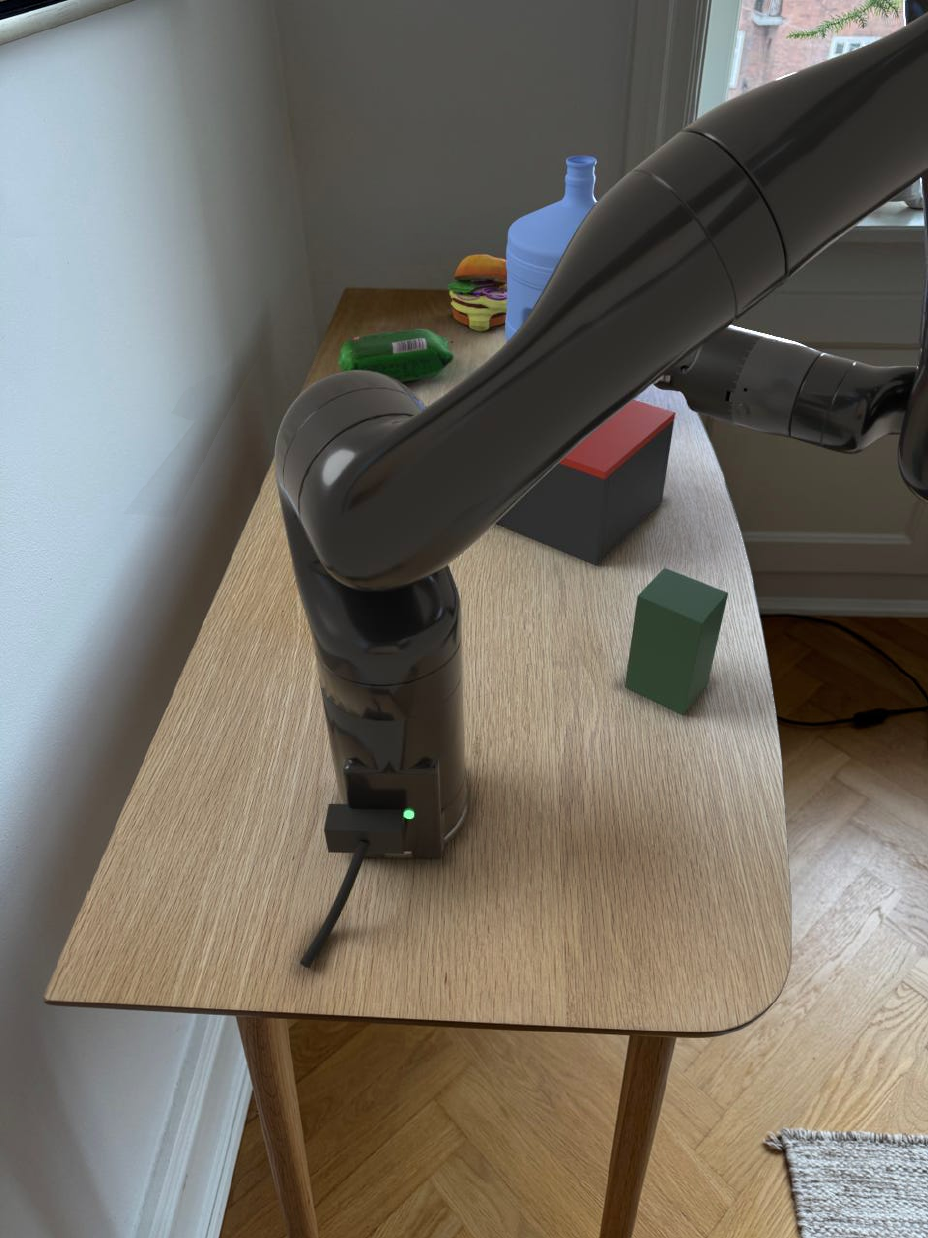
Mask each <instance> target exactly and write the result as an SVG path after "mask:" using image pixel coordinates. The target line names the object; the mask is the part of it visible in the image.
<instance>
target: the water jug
mask: <svg viewBox="0 0 928 1238" xmlns="http://www.w3.org/2000/svg"><path fill="white" fill-rule="evenodd" d="M565 164H566V166H567V167H566V169H567V170H566V174H565V178H564V183H565V191H564V192H565V193H564V196H563V198H562V199H561V200H559V201H556V202H554V203H552V204H549V205H547V206H544V207H542V208H540V209H537V210H535V211H533V212H530V213H528V214H525V215H523V216H521V217H520V218H518V219H516V220H515V221H514V222H513V223H512V224H511V225H510V227H509V228H508V232H507V243H506V250H505V256H506V258H505V260H506V268H507V314H506V320H505V323H504V324H505V325H504V334H505V335H504V336H505V342H506V343H507V342H508V340H509V339H510V338H511V337H512V336H513V335H514V334H515V333H516V332H517V330H518V329H519V328H520V327H521V325H522V324H523V323H524V321H525V320H526V318H527V317H528V315H529V314H530V312H531V310H532V309H533V307H534V305H535V304H536V302H537V300H538V299H539V297H540V295H541V294H542V292H543V290H544V288H545V286H546V284H547V283H548V281H549V279H550V277H551V275H552V273H553V271H554V269H555V267H556V265H557V263H558V261H559V260H560V258H561V256H562V254H563V252H564V250H565V249H566V247H567V245H568V243H569V242H570V240H571V238H572V237H573V235H574V233H575V232H576V230H577V228H578V227H579V225H580V224H581V222H582V221H583V219H584V218H585V217H586V215H587V214H588V212H589V211H590V210H591V208H592V207H593V206H594V205H595V204H596V202H597V201H598V200H596V198H595V195H594V189H595V183H596V174H595V166H596V164H597V159H596V157H594V156H590V155H574V156H569V157H567V158H566V160H565Z"/></svg>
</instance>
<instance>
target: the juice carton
mask: <svg viewBox="0 0 928 1238" xmlns="http://www.w3.org/2000/svg"><path fill="white" fill-rule="evenodd" d="M728 597H729V592H727V591H726V590H723V589H720V588H718V587H715V586H713V585H711V584H708V583H705V582H703V581H700V580H697V579H695V578H693V577H691V576H688V575H685V574H683V573H680V572H677V571H675V570H672V569H670V568H667V567H663V569H661V571H659V572H658V573H657V575H656V576H655V577H654V578H653V579H651V581H650V583H648V584H647V585H646V587H644V589H642V590H641V592H639V594H638V595H637V597H636V602H635V610H634V612H635V613H634V619H633V625H632V633H631V639H630V647H629V652H628V653H629V654H628V660H627V669H626V676H625V683H624V687H625V688H626V689H627V690H629V691H632V692H634V693H636V694H638V695H640V696H642V697H645V698H647V699H648V700H651V701H652V702H655V703H657V704H659V705H661V706H663V707H666V708H667V709H670V710H672V711H674V712H675V713H677V714H680V715H682V716H684V715H686V713H687V712H688V710H689V709H690V708H691V707H692V706H693V704H694V703H695V702H696V700H697V699H698V698H699V696H700V695H701V694H702V692H703V691H704V690H705V689H706V687H707V686H708V685H709V681H710V678H711V677H710V676H711V672H712V669H713V664H714V659H715V654H716V651H717V646H718V641H719V637H720V632H721V628H722V625H723V624H722V622H723V619H724V614H725V610H726V605H727V601H728Z"/></svg>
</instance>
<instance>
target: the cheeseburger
mask: <svg viewBox="0 0 928 1238" xmlns="http://www.w3.org/2000/svg"><path fill="white" fill-rule="evenodd" d="M453 278H454V280H455V281H453V282H452V283H448V284H447V287H446V289H448V291H449V292H448V293H449V296H450V299H451V300H452V301H451V302H450V305H451V306H452V308H451V309H452V310H451V311H452V315H453V318H454V320H456V321H457V322H459V323H461V324H462V325H465V326H468V328H470V329H471V330H473V331H476V332H486V331H487V330H489V329H490V328H493V327H496V326H501V325H503V324H505V320H506V314H507V268H506V258H500V257H495V256H492V255H489V254H471V255H467V256H466V257H465V258H464V259H462V260H461V261H460V263H459V265H458V266H457V268H456V270H455V273H454V276H453Z"/></svg>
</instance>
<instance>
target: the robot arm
mask: <svg viewBox="0 0 928 1238" xmlns="http://www.w3.org/2000/svg"><path fill="white" fill-rule="evenodd" d="M903 19H904V26H902V27H900V28H899V29H897V30H895V31H893V32H890V33H889V34H887V35H885V36H883V37H881V38H879V39H877V40H874V41H872V42H870V43H867V44H865V45H863V46H859V47H858V48H854V49H852V50H850V51H847V52H844V53H843V54H839V55H837V56H834V57H831V58H829V59H827V60H823V61H821V62H819V63H816V64H813V65H810V66H808V67H806V68H803V69H800V70H798V71H795V72H792V73H790V74H786V75H784V76H782V77H779V78H776V79H774V80H772V81H769V82H766V83H764V84H762V85H759V86H757V87H755V88H754V87H753V88H752V89H750V90H747V91H746V92H743V93H741V94H739V95H736V96H734V97H733V98H731V99H728V100H726V101H724V102H723V103H721V104H719V105H717V106H715V107H714V108H712V109H711V110H709V111H707V112H706V113H704V114H703V115H701V116H700V117H698V118H697V119H695V120H694V121H693V122H691V123H689V124H688V125H686V126H685V127H684V128H682V129H681V130H679V131H678V133H676V134H675V135H674V136H672V137H671V138H670V139H668V140H667V141H666V142H665V143H663V144H662V145H661V146H660V147H658V148H657V149H656V150H655V151H653V152H652V153H650V155H649V156H647V157H646V158H645V159H643V160H642V161H641V162H639V163H638V164H637V165H636V166H635V167H633V168H632V169H631V170H630V171H629V172H628V173H626V174H624V176H622V178H620V179H619V180H618V181H617V182H615V183H614V184H613V185H612V186H611V187H610V188H609V189H608V190H607V191H605V193H604V194H603V195H602V196H601V197H600V198H599V199H598V200H596V201H597V202H596V204H595V205H594V206H593V207H592V208H591V210H590V211H589V212H588V214H587V215H586V217H585V218H584V219H583V221H582V222H581V224H580V225H579V227H578V228H577V230H576V232H575V233H574V235H573V237H572V238H571V240H570V242H569V243H568V245H567V247H566V249H565V250H564V252H563V254H562V256H561V258H560V260H559V261H558V263H557V265H556V267H555V269H554V271H553V273H552V275H551V277H550V279H549V281H548V283H547V284H546V286H545V288H544V290H543V292H542V294H541V295H540V297H539V299H538V300H537V302H536V304H535V305H534V307H533V309H532V310H531V312H530V314H529V315H528V317H527V318H526V320H525V321H524V323H523V324H522V325H521V327H520V328H519V329H518V330H517V332H516V333H515V334H514V335H513V336H512V337H511V338H510V339H509V340H508V342H507V341H506V342H505V343H504V344H503V346H502V347H501V348H499V350H498V351H496V352H495V353H494V354H493V355H492V356H491V357H490V358H489V359H488V360H487V361H486V362H485V363H483V364H482V365H480V366H479V367H478V368H477V369H476V370H474V371H473V372H472V373H470V375H468V376H467V377H466V378H464V379H463V380H461V381H460V382H459V383H458V384H456V385H455V386H454V387H453V388H451V389H450V390H449V391H448V392H446V393H445V394H444V395H443V396H440V398H438V399H436V400H435V401H434V402H433V403H431V404H429V405H428V406H426V404H425V403H424V402H423V401H422V400H421V398H420V397H419V396H418V395H417V394H416V393H415V392H414V391H413V390H411V389H410V388H409V387H408V386H407V385H405V384H404V383H403V382H399V381H398V380H396V379H394V378H392V377H390V376H388V375H385V374H382V373H379V372H374V371H368V370H349V371H343V372H342V371H339V372H334V373H331V374H329V375H325V376H324V377H323V378H320V379H319V380H317V381H315V382H314V383H312V384H310V386H308V387H307V388H306V389H304V390H303V391H302V392H300V394H299V395H298V396H297V397H296V398H295V400H293V402H292V403H291V405H290V406H289V408H288V409H287V410H286V413H285V415H284V416H283V419H282V420H281V423H280V425H279V428H278V431H277V436H276V440H275V447H274V473H275V474H274V475H275V481H276V487H277V493H278V498H279V504H280V508H281V514H282V519H283V523H284V529H285V534H286V539H287V544H288V550H289V553H290V559H291V563H292V569H293V574H294V579H295V582H296V583H295V584H296V587H297V590H298V594H299V598H300V601H301V604H302V607H303V610H304V614H305V616H306V619H307V623H308V626H309V630H310V635H311V639H312V645H313V646H312V647H313V651H314V656H315V662H316V668H317V673H318V681H319V686H320V692H321V698H322V704H323V711H324V715H325V721H326V728H327V733H328V740H329V745H330V750H331V757H332V763H333V768H334V775H335V781H336V786H337V790H338V791H337V792H338V796H339V797H338V798H339V803H328V805H327V809H326V810H327V811H326V816H325V822H324V827H323V832H324V837H325V841H326V847H327V852H328V853H330V854H332V853H334V854H353V855H352V858H351V860H350V862H349V865H348V868H347V870H346V873H345V876H344V878H343V880H342V883H341V885H340V887H339V889H338V891H337V894H336V897H335V899H334V901H333V903H332V905H331V907H330V909H329V911H328V914H327V916H326V917H325V920H324V922H322V925H321V927H320V928H319V930H318V932H317V933H316V935H315V937H314V938H313V940H312V942H311V943H310V946H309V947H308V949H307V950H306V951H305V953H304V954H303V956H302V957H301V959H300V961H299V963H300V965H301V966H302V967H304V968H306V969H310V968H311V966H312V965H313V963H314V962H315V960H316V958H317V957H318V956H319V953H320V952H321V951H322V949H323V947H324V946H325V944H326V942H327V940H328V939H329V937H330V935H331V933H332V932H333V930H334V929H335V926H336V924H337V923H338V921H339V919H340V917H341V914H342V912H343V910H344V908H345V906H346V903H347V902H348V899H349V898H350V895H351V892H352V889H354V888H353V887H354V886H355V883H356V880H357V878H358V875H359V872H360V870H361V867H362V865H363V862H364V859H365V858H391V859H441V858H442V857H443V856H444V848H445V845H446V844H447V843H448V842H450V841H451V840H452V839H453V838H454V837H455V836H456V835H457V833H458V832H459V831H460V829H461V827H462V826H463V824H464V822H465V819H466V816H467V813H468V807H469V805H468V804H469V803H468V789H467V780H466V779H467V778H466V748H465V747H466V746H465V744H466V743H465V712H464V710H465V708H464V707H465V706H464V674H463V673H464V672H463V671H464V670H463V669H464V665H463V661H464V660H463V659H464V657H463V616H462V603H461V597H460V593H459V589H458V587H457V584H456V581H455V578H454V576H453V574H452V571H451V568H450V566H449V565H450V564H451V563H452V562H453V561H455V560H456V559H458V558H459V557H460V556H461V555H462V554H463V553H464V552H466V551H467V550H468V549H469V548H471V547H472V546H473V545H474V544H476V542H477V541H478V540H479V539H481V538H482V536H484V535H485V534H486V533H487V532H488V531H489V530H490V529H491V528H492V527H493V526H495V523H496V522H497V521H498V520H499V519H500V518H502V517H503V516H504V515H505V514H506V513H507V512H508V511H509V510H510V509H511V508H512V507H513V506H514V505H515V504H516V503H517V502H518V501H519V500H520V499H521V498H522V497H524V496H525V495H526V494H527V493H528V492H529V491H530V490H531V489H532V488H533V487H534V486H535V485H536V484H537V483H538V482H539V481H540V480H541V479H542V478H543V477H545V476H546V475H547V474H548V473H549V472H550V471H551V470H552V469H553V468H554V467H555V466H556V465H557V464H558V463H559V462H560V461H562V460H563V459H564V458H565V457H566V456H567V455H568V454H569V453H570V452H571V451H572V450H574V449H575V448H576V447H577V446H578V445H579V444H580V443H581V442H582V441H584V440H585V439H586V438H587V437H589V436H590V435H591V434H592V433H593V432H595V431H596V430H597V429H598V428H599V427H601V426H602V425H603V424H604V423H605V422H607V421H608V420H609V419H610V418H612V417H613V416H614V415H615V414H617V413H618V412H619V411H620V410H621V409H623V408H624V407H625V406H626V405H628V404H629V403H630V402H631V401H632V400H636V398H637V397H638V396H640V395H641V394H642V393H643V392H645V391H646V390H647V389H649V388H650V387H651V386H654V387H656V388H657V389H659V390H662V391H673V392H680V393H681V394H682V395H683V397H684V399H685V401H686V405H687V407H688V409H690V411H692V412H694V413H698V414H700V415H704V416H707V417H710V418H713V419H717V420H720V421H724V422H726V423H730V424H733V425H736V426H740V427H743V428H746V429H749V430H752V431H756V432H759V433H762V434H767V435H773V436H780V437H785V438H789V439H794V440H797V441H800V442H803V443H807V444H810V445H813V446H816V447H819V448H822V449H825V450H829V451H832V452H834V453H835V452H836V453H839V454H844V455H855V454H856V455H857V454H859V453H863V451H865V450H866V449H868V448H869V447H870V446H872V444H874V443H875V442H876V441H879V439H881V438H883V437H886V436H889V435H890V436H891V435H893V436H895V435H896V436H897V435H898V436H899V437H898V438H899V439H898V444H897V466H898V471H899V474H900V477H901V479H902V481H903V483H904V485H905V486H906V487H907V489H908V490H909V491H910V493H912V495H913V496H915V498H917V499H918V500H920V501H922V502H923V503H925V504H927V505H928V0H903ZM919 180H920V187H921V199H922V208H923V227H924V267H923V268H924V269H923V282H922V283H923V284H922V295H921V305H920V306H921V308H920V319H919V320H920V322H919V334H918V357H917V358H918V359H917V365H892V366H891V365H890V366H877V365H876V366H875V365H871V364H867V363H863V362H861V361H857V360H853V359H851V358H846V357H842V356H838V355H835V354H830V353H826V352H822V351H820V350H816V349H814V348H812V347H810V346H807V345H805V344H802V343H799V342H796V341H793V340H789V339H785V338H781V337H777V336H773V335H771V334H770V335H769V334H766V333H762V332H759V331H758V332H757V331H754V330H750V329H745V328H742V327H738V326H735V325H732V324H734V323H735V322H736V321H738V320H739V319H740V318H742V317H743V316H744V315H745V314H747V313H748V312H750V311H751V310H752V309H753V308H754V307H756V306H757V305H758V304H760V303H761V302H762V301H764V300H765V299H767V297H769V296H770V295H771V294H772V293H774V292H775V291H776V290H777V289H779V288H780V287H782V286H783V285H784V284H785V283H786V282H788V281H789V280H790V279H791V278H792V277H794V276H795V275H796V274H797V273H798V272H799V271H800V270H802V269H803V268H805V266H806V265H808V264H809V263H810V262H811V261H812V260H814V259H815V258H816V257H817V256H818V255H820V254H821V253H822V252H823V251H824V250H826V249H827V248H828V247H830V246H831V245H832V244H833V243H835V242H837V241H838V240H839V239H840V238H842V237H843V236H844V235H846V234H848V233H849V232H850V231H851V230H852V229H854V228H855V227H856V226H858V225H859V224H862V222H864V221H865V220H866V219H868V218H869V217H870V216H871V215H873V214H874V213H876V212H877V211H879V210H880V209H881V208H883V207H884V206H885V205H886V204H888V203H889V202H891V201H892V200H894V199H895V198H896V197H897V196H899V195H900V194H901V193H903V192H904V191H905V190H907V189H908V188H909V187H911V186H912V185H913V184H914V183H916V182H917V181H919Z"/></svg>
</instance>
